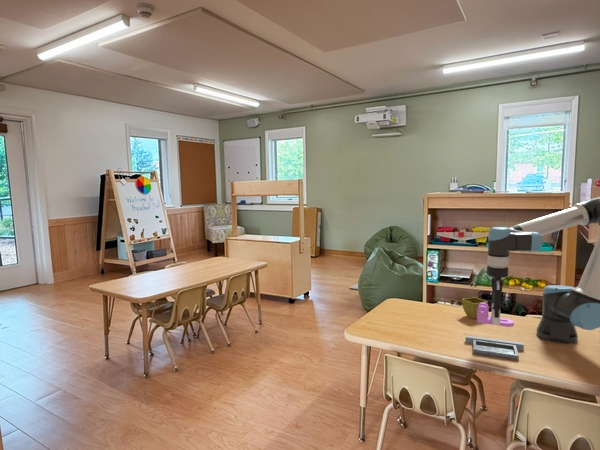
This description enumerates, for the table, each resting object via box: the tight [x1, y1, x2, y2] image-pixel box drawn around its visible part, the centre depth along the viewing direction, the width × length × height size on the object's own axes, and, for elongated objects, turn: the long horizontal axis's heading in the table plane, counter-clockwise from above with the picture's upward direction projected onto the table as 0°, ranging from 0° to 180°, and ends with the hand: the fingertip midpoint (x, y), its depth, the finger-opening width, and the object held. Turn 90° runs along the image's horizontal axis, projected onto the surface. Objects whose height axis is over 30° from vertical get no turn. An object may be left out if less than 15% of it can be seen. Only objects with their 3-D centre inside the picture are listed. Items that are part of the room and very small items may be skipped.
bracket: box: [476, 303, 515, 328], centre depth 155 cm, size 13×6×7 cm, turn 60°
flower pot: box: [461, 296, 489, 320], centre depth 194 cm, size 9×9×9 cm
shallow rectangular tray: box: [472, 340, 520, 362], centre depth 156 cm, size 16×10×2 cm, turn 67°
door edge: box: [465, 335, 525, 351], centre depth 162 cm, size 22×2×2 cm, turn 66°
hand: (495, 321), depth 155 cm, fingers closed on bracket, 6 cm apart
